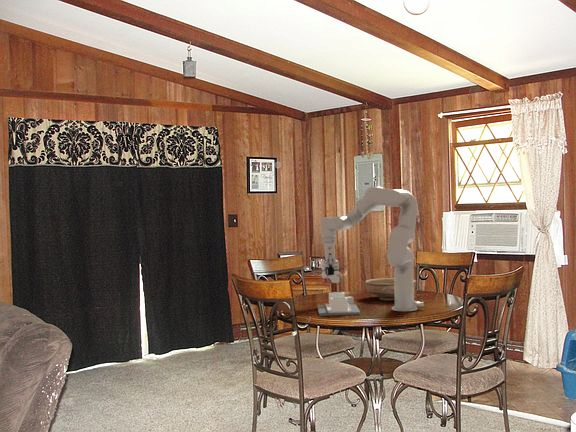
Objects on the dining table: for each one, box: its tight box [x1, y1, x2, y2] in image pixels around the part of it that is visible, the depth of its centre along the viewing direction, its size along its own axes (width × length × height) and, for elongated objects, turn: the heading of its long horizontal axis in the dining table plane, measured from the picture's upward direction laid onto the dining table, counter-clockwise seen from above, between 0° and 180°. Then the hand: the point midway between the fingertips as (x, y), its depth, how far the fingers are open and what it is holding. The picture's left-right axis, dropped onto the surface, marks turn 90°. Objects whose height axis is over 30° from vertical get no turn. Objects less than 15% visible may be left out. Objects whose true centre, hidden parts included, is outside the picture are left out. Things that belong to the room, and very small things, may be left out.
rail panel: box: [317, 291, 361, 317], centre depth 322 cm, size 20×25×8 cm
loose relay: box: [346, 295, 355, 304], centre depth 343 cm, size 4×4×4 cm
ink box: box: [320, 259, 341, 284], centre depth 339 cm, size 9×5×12 cm, turn 99°
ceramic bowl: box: [364, 277, 417, 301], centre depth 359 cm, size 37×29×10 cm
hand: (330, 274), depth 339 cm, fingers closed on ink box, 5 cm apart
